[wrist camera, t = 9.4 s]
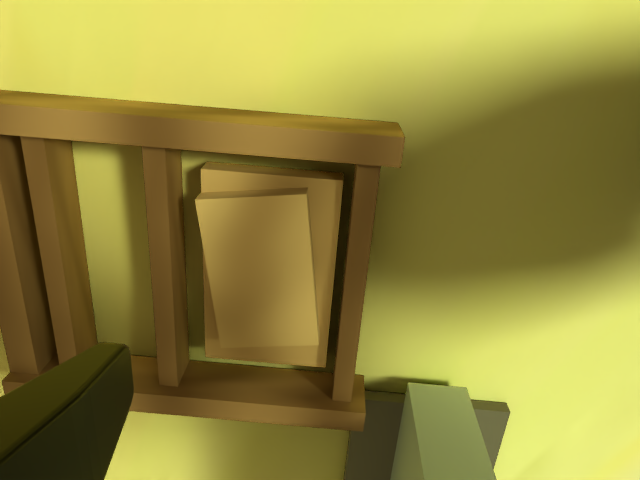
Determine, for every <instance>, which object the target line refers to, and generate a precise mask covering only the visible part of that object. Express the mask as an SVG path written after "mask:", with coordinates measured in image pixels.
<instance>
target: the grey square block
mask: <svg viewBox="0 0 640 480" xmlns="http://www.w3.org/2000/svg"><path fill="white" fill-rule="evenodd" d="M390 480H497V479H496V476H495V473H494V470H493V467H492V464H491V461H490V458H489V455H488V452H487V449H486V446H485V443H484V440H483V436H482V433H481V430H480V427H479V424H478V421H477V418H476V415H475V412H474V409H473V406H472V403H471V400H470V397H469V393H468V390H467V388H466V387H454V386H443V385H432V384H420V383H409V382H408V385H407V390H406V396H405V401H404V407H403V412H402V418H401V423H400V429H399V434H398V440H397V445H396V451H395V456H394V462H393V467H392V473H391V478H390Z"/></svg>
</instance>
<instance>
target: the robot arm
mask: <svg viewBox="0 0 640 480" xmlns="http://www.w3.org/2000/svg"><path fill="white" fill-rule="evenodd" d="M133 394H134V383H133V373H132V364H131V354H130V350H129V348H128V347H127V346H126V345H125V344H117V343H106V342H102V343H98V344H96V345H94V346H92V347H90V348H89V349H87V350H85V351H83V352H81V353H80V354H78V355H76V356H74V357H72V358H70V359H69V360H67V361H65V362H63V363H61V364H60V365H58V366H56V367H54V368H52V369H50V370H49V371H47V372H45V373H43V374H41V375H40V376H38V377H36V378H34V379H32V380H30V381H29V382H27V383H25V384H23V385H21V386H20V387H18V388H16V389H14V390H12V391H10V392H9V393H7V394H5V395H3V396H1V397H0V480H104V478H105V476H106V473H107V470H108V467H109V465H110V462H111V459H112V456H113V453H114V451H115V448H116V445H117V442H118V440H119V437H120V434H121V431H122V428H123V426H124V423H125V420H126V417H127V415H128V412H129V409H130V406H131V403H132V399H133Z"/></svg>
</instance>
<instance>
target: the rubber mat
mask: <svg viewBox="0 0 640 480" xmlns="http://www.w3.org/2000/svg"><path fill="white" fill-rule="evenodd" d="M364 391H365V390H364ZM405 396H406V394H399V393H388V392H376V391H365V410H366V415H365V422H364V429H363V432H361V431H350V434H349V442H348V450H347V458H346V466H345V473H344V480H390V478H391V473H392V467H393V462H394V456H395V451H396V445H397V440H398V434H399V429H400V423H401V418H402V412H403V407H404V401H405ZM471 403H472V406H473V409H474V412H475V415H476V418H477V421H478V424H479V427H480V430H481V433H482V436H483V440H484V443H485V446H486V449H487V452H488V455H489V458H490V461H491V464H492V467H493V469H494V466H495V462H496V459H497V455H498V452H499V449H500V445H501V442H502V438H503V435H504V432H505V428H506V425H507V421H508V418H509V415H510V411H509V408H508V406H507V403H501V402H490V401H479V400H471Z"/></svg>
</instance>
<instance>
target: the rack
mask: <svg viewBox="0 0 640 480" xmlns="http://www.w3.org/2000/svg"><path fill="white" fill-rule="evenodd" d="M71 140H74V141H86V142H98V143H110V144H122V145H135V146H142V157H143V171H144V184H145V198H146V212H147V226H148V239H149V253H150V267H151V281H152V294H153V308H154V322H155V335H156V349H157V357H146V356H135V355H131V364H132V373H133V383H134V394H133V399H132V403H131V406H130V409H129V411H136V412H147V413H159V414H170V415H181V416H192V417H204V418H215V419H226V420H237V421H249V422H260V423H271V424H282V425H294V426H305V427H316V428H327V429H339V430H350V431H361V432H363V429H364V422H365V415H366V410H365V391H364V376H363V375H355V367H356V359H357V351H358V343H359V335H360V327H361V319H362V311H363V303H364V295H365V287H366V279H367V271H368V263H369V255H370V247H371V239H372V231H373V224H374V216H375V208H376V200H377V192H378V184H379V176H380V168H381V166H387V167H399V168H401V163H402V156H403V149H404V142H405V136H404V134H403V132H402V130H401V128H400V126H399V124H398V123H396V122H384V121H372V120H360V119H348V118H335V117H323V116H311V115H299V114H287V113H275V112H262V111H250V110H238V109H226V108H214V107H202V106H189V105H177V104H165V103H153V102H141V101H129V100H117V99H104V98H92V97H80V96H68V95H56V94H44V93H31V92H19V91H7V90H0V327H1V332H2V336H3V341H4V345H5V350H6V354H7V359H8V363H9V368H10V373H9V374H8V375H7V376H6V377H5V378H4V379H3V380H2V385H3V389H4V393H5V394H7V393H9V392H10V391H12V390H14V389H16V388H18V387H20V386H21V385H23V384H25V383H27V382H29V381H30V380H32V379H34V378H36V377H38V376H40V375H41V374H43V373H45V372H47V371H49V370H50V369H52V368H54V367H56V366H58V365H60V364H61V363H63V362H65V361H67V360H69V359H70V358H72V357H74V356H76V355H78V354H80V353H81V352H83V351H85V350H87V349H89V348H90V347H92V346H94V345H96V344H98V343H97V336H96V328H95V320H94V313H93V305H92V297H91V290H90V282H89V274H88V267H87V259H86V251H85V244H84V236H83V228H82V221H81V213H80V205H79V198H78V190H77V182H76V175H75V167H74V159H73V152H72V144H71ZM181 149H183V150H195V151H207V152H219V153H231V154H243V155H255V156H267V157H279V158H291V159H303V160H315V161H327V162H339V163H351V164H355V167H354V177H353V187H352V196H351V206H350V216H349V225H348V235H347V244H346V254H345V264H344V273H343V283H342V292H341V302H340V312H339V321H338V331H337V341H336V350H335V360H334V369H333V373H329V372H317V371H306V370H295V369H283V368H272V367H260V366H249V365H237V364H226V363H215V362H203V361H192V360H190V359H189V334H188V309H187V285H186V260H185V236H184V211H183V186H182V162H181Z"/></svg>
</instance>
